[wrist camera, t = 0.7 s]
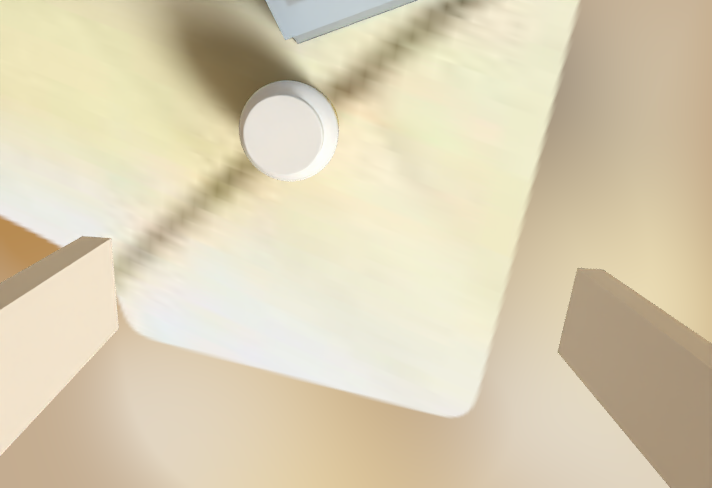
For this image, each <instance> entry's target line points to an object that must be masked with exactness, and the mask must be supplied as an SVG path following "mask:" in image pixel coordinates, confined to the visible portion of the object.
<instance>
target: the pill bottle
mask: <svg viewBox="0 0 712 488" xmlns="http://www.w3.org/2000/svg"><path fill="white" fill-rule="evenodd" d="M338 134H339V123H338V117H337V114H336V111H335V109H334V107H333V105H332V103H331V102H330V101H329V99H328V98H327V97H326V96H325V95H324V94H323V93H321V92H320V91H318V90H317V89H315V88H313V87H311V86H309V85H307V84H305V83H302V82H298V81H291V80H284V81H276V82H273V83H270V84H267V85H265V86H263V87H262V88H260V89H259V90H257V91H256V92H255V93H254V94H253V95H252V96H251V97H250V98H249V100H248V101H247V102H246V104H245V106H244V108H243V110H242V113H241V117H240V122H239V136H240V141H241V145H242V148H243V150H244V152H245V154H246V156H247V157H248V159H249V160H250V162H251V163H252V164H253V165H254V166H255V167H256V168H257V169H258V170H259V171H261V172H262V173H264V174H265V175H267V176H269V177H272V178H274V179H277V180H282V181H299V180H303V179H307V178H309V177H311V176H313V175H315V174H317V173H318V172H320V171H321V170H322V169H323V168H324V167H325V166H326V165H327V164H328V162H329V161H330V160H331V158H332V156H333V154H334V152H335V149H336V147H337V142H338Z"/></svg>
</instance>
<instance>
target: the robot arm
mask: <svg viewBox="0 0 712 488" xmlns="http://www.w3.org/2000/svg"><path fill="white" fill-rule="evenodd" d="M117 330H118V316H117V303H116V291H115V279H114V267H113V255H112V243H111V238H100V237H84V236H82V237H80V238H79V239H77V240H75V241H73V242H72V243H70V244H68V245H66V246H65V247H63V248H61V249H59V250H57V251H56V252H54V253H52V254H50V255H49V256H47V257H45V258H43V259H42V260H40V261H38V262H36V263H35V264H33V265H31V266H29V267H28V268H26V269H24V270H22V271H21V272H19V273H17V274H15V275H14V276H12V277H10V278H8V279H6V280H5V281H3V282H1V283H0V456H1V455H2V453H3V452H4V451H5V450H6V449H7V448H8V447H9V446H10V445H11V444H12V443H13V442H14V441H15V439H16V438H17V437H18V436H19V435H20V434H21V433H22V432H23V431H24V430H25V429H26V428H27V427H28V425H29V424H30V423H31V422H32V421H33V420H34V419H35V418H36V417H37V416H38V415H39V414H40V412H41V411H42V410H43V409H44V408H45V407H46V406H47V405H48V404H49V403H50V402H51V401H52V400H53V398H55V396H56V395H57V394H58V393H59V392H60V391H61V390H62V389H63V388H64V387H65V386H66V385H67V384H68V382H69V381H70V380H71V379H72V378H73V377H74V376H75V375H76V374H77V373H78V372H79V371H80V370H81V368H82V367H83V366H84V365H85V364H86V363H87V362H88V361H89V360H90V359H91V358H92V357H93V355H94V354H95V353H96V352H97V351H98V350H99V349H100V348H101V347H102V346H103V345H104V344H105V343H106V342H107V340H108V339H109V338H110V337H111V336H112V335H113V334H114V332H116V331H117ZM558 353H559V354H560V355H561V357H562V358H563V359H564V360H565V362H566V363H567V364H568V365H569V366H570V368H571V369H572V370H573V371H574V372H575V373H576V375H577V376H578V377H579V378H580V380H581V381H582V382H583V383H584V384H585V386H586V387H587V388H588V389H589V390H590V392H591V393H592V394H593V395H594V397H595V398H596V399H597V400H598V401H599V402H600V404H601V405H602V406H603V407H604V409H605V410H606V411H607V412H608V413H609V415H610V416H611V417H612V418H613V419H614V421H615V422H616V423H617V424H618V425H619V427H620V428H621V429H622V430H623V431H624V433H625V434H626V435H627V436H628V437H629V439H630V440H631V441H632V442H633V443H634V445H635V446H636V447H637V448H638V449H639V451H640V452H641V453H642V454H643V455H644V457H645V458H646V459H647V460H648V461H649V463H650V464H651V465H652V466H653V468H654V469H655V470H656V471H657V472H658V474H659V475H660V476H661V477H662V478H663V480H664V481H665V482H666V483H667V484H668V486H669V487H670V488H712V344H711V343H710V342H709V341H707V340H706V339H704V338H703V337H701V336H700V335H698V334H697V333H695V332H694V331H692V330H691V329H689V328H688V327H687V326H685V325H684V324H682V323H680V322H679V321H678V320H676V319H675V318H673V317H672V316H670V315H669V314H667V313H666V312H665V311H663V310H662V309H660V308H659V307H657V306H656V305H654V304H653V303H651V302H650V301H648V300H647V299H645V298H644V297H642V296H641V295H639V294H638V293H637V292H635V291H634V290H632V289H631V288H629V287H628V286H626V285H625V284H623V283H622V282H621V281H619V280H618V279H616V278H615V277H613V276H612V275H610V274H609V273H607V272H606V271H604V270H601V269H585V268H577V272H576V276H575V281H574V285H573V289H572V293H571V298H570V302H569V306H568V310H567V314H566V319H565V323H564V327H563V331H562V336H561V340H560V344H559V348H558Z"/></svg>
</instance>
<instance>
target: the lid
mask: <svg viewBox="0 0 712 488" xmlns="http://www.w3.org/2000/svg"><path fill="white" fill-rule="evenodd" d="M265 1H266V3H267V5H268V7H269V9H270V11H271V13H272V15H273V17H274V19H275V21H276V23H277V25H278V27H279V29H280V31H281V33H282V35H283V37H284V39H285V40H287V39H290V38H292V37H295V36H298V35H300V34H303V33H306V32H309V31H311V30H314V29H317V28H320V27H322V26H325V25H328V24H330V23H333V22H336V21H339V20H341V19H344V18H347V17H349V16H352V15H355V14H358V13H360V12H363V11H366V10H369V9H371V8H374V7H377V6H379V5H382V4H385V3H388V2H390V1H393V0H265Z"/></svg>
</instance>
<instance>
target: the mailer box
mask: <svg viewBox="0 0 712 488" xmlns="http://www.w3.org/2000/svg"><path fill="white" fill-rule="evenodd" d="M414 1H416V0H393V1H390V2H388V3H385V4H382V5H379V6H377V7H374V8H371V9H369V10H366V11H363V12H360V13H358V14H355V15H352V16H349V17H347V18H344V19H341V20H339V21H336V22H333V23H330V24H328V25H325V26H322V27H320V28H317V29H314V30H311V31H309V32H306V33H303V34H300V35H298V36H295V37H293V38H294V39H295V41H296V42H297V43H298V44H299V43H302V42H304V41H307V40H310V39H313V38H315V37H318V36H321V35H323V34H326V33H329V32H332V31H334V30H337V29H340V28H343V27H345V26H348V25H351V24H354V23H356V22H359V21H362V20H364V19H367V18H370V17H373V16H375V15H378V14H381V13H384V12H386V11H389V10H392V9H394V8H397V7H400V6H403V5H405V4H408V3H411V2H414Z"/></svg>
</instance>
